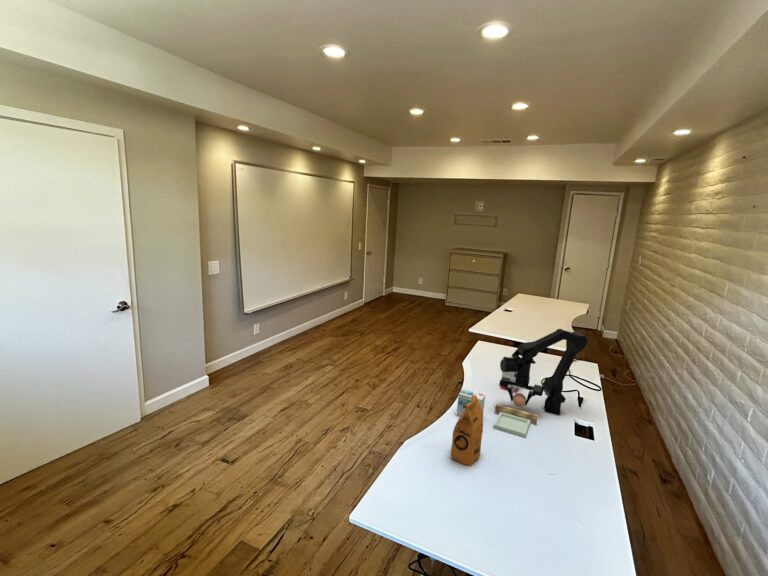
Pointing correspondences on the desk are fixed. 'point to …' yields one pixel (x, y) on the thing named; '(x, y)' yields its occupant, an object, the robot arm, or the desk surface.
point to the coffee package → (468, 434)
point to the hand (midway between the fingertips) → (519, 403)
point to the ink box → (511, 376)
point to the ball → (519, 399)
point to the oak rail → (516, 413)
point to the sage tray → (512, 424)
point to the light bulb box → (468, 400)
